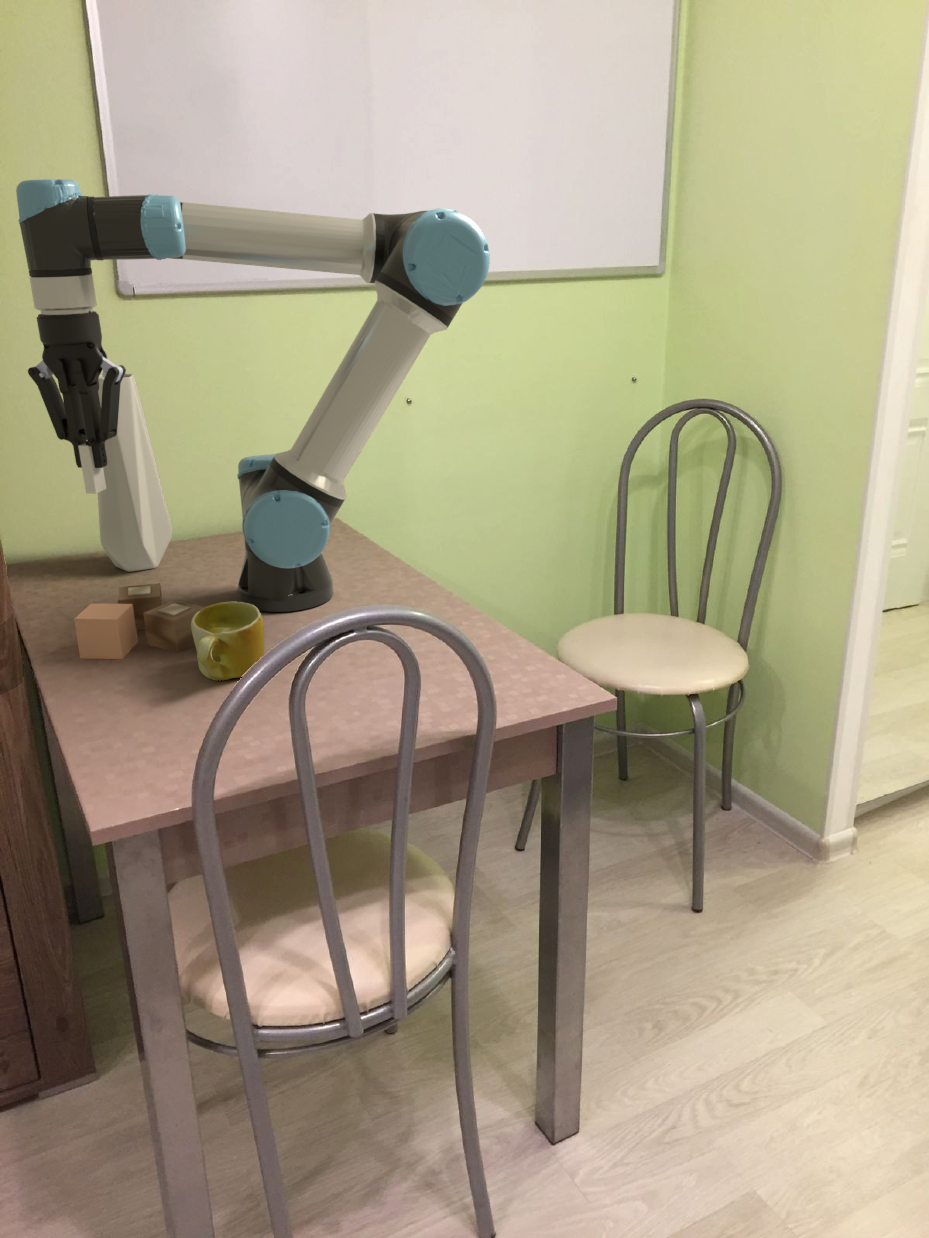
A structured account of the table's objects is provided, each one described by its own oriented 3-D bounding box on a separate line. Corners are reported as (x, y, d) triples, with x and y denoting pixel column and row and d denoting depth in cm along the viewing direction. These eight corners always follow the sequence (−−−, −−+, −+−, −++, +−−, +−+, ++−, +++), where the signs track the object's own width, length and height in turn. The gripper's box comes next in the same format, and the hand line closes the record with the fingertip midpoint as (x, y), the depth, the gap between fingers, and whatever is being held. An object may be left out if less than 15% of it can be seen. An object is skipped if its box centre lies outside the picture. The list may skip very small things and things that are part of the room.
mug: (216, 634, 144) (220, 579, 137) (277, 664, 141) (284, 610, 135) (161, 682, 134) (162, 626, 128) (225, 715, 132) (230, 659, 126)
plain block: (137, 642, 146) (132, 603, 144) (122, 659, 141) (116, 619, 138) (97, 642, 147) (91, 603, 144) (80, 658, 141) (74, 618, 139)
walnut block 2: (208, 639, 147) (204, 605, 145) (178, 653, 143) (174, 619, 141) (177, 631, 150) (174, 598, 148) (147, 645, 145) (143, 611, 143)
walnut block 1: (164, 613, 157) (160, 582, 155) (164, 627, 152) (159, 594, 150) (123, 617, 156) (119, 585, 154) (122, 631, 150) (117, 598, 148)
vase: (185, 555, 184) (164, 371, 172) (159, 576, 174) (134, 381, 161) (122, 553, 186) (97, 370, 174) (92, 573, 175) (63, 380, 163)
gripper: (128, 308, 131) (153, 485, 140) (37, 309, 134) (68, 483, 143) (98, 313, 125) (126, 499, 133) (3, 314, 127) (37, 496, 136)
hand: (96, 490), depth 138 cm, fingers closed
